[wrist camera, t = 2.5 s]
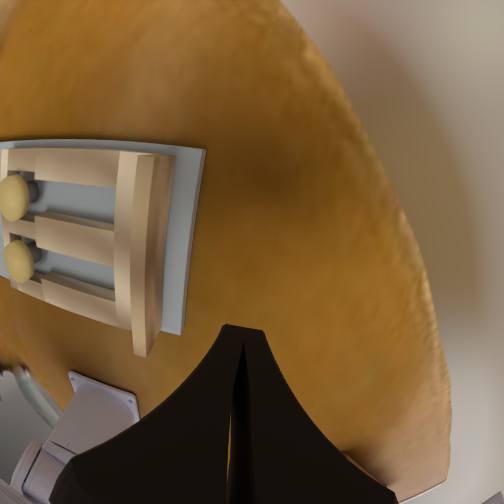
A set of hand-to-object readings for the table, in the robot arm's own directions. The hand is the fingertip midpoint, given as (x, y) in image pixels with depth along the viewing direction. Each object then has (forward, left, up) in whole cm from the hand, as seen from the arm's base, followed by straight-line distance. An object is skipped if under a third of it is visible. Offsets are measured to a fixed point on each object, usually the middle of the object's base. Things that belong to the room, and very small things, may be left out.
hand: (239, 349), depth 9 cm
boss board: (0, +15, -8) cm, 17 cm away
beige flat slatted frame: (0, +12, -7) cm, 14 cm away
